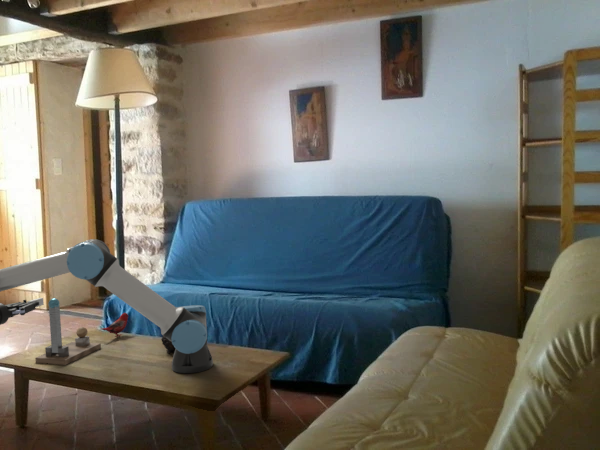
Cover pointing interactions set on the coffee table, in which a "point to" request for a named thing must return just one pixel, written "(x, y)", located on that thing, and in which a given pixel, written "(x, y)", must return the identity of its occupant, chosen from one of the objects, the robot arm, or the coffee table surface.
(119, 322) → the decorative bird figurine
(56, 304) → the lever
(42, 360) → the nutcracker base
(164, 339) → the pine cone
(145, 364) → the coffee table surface
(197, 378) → the coffee table surface
